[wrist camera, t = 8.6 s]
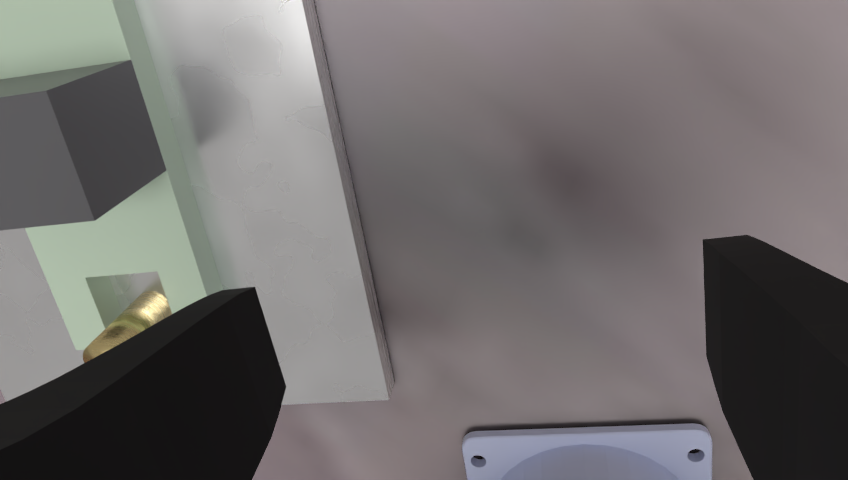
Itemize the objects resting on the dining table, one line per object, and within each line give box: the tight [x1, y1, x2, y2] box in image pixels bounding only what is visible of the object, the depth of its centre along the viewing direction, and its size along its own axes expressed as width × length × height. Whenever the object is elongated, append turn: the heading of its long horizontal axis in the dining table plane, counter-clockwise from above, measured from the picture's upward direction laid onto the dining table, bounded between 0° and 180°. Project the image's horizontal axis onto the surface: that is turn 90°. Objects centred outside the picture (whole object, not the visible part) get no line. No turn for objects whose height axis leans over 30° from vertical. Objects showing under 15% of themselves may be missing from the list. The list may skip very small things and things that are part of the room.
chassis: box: [0, 0, 394, 405], centre depth 19 cm, size 20×14×4 cm
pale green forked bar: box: [0, 0, 223, 350], centre depth 18 cm, size 14×5×4 cm, turn 9°
